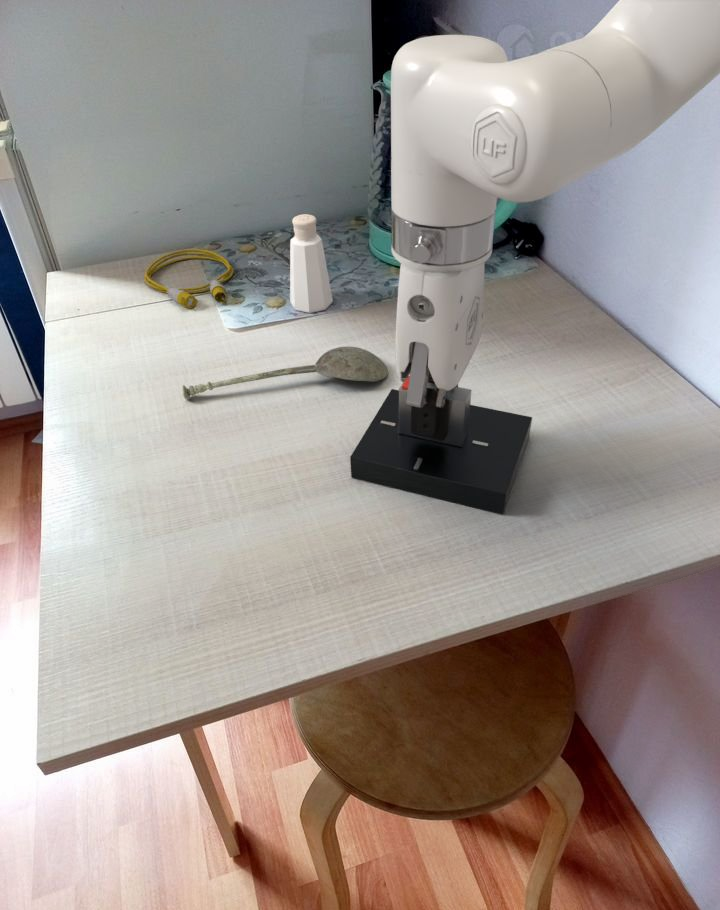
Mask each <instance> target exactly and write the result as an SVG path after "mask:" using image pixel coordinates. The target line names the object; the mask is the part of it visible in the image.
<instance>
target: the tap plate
mask: <svg viewBox="0 0 720 910" xmlns="http://www.w3.org/2000/svg"><path fill="white" fill-rule="evenodd" d="M532 423H533V417H532V416H529V415H523V414H518V413H515V412H509V411H504V410H498V409H493V408H489V407H483V406H479V405H474V404H470V415H469V426H468V435H467V437H466V439H465V442H464V444H463V446H462V447H459V446H454V445H450V444H445V443H441V442H436V441H431V440H427V439H422V438H418V437H413V436H409V435H404V434H400V433H399V389H394V388H391V390H390V391H389V393H388V394H387V396H386V398H385V399H384V401H383V403H382V404H381V406H380V407H379V409H378V411H377V412H376V414H375V415H374V417H373V419H372V421H371V422H370V424H369V425H368V427H367V429H366V430H365V432H364V434H363V435H362V436H361V439H360V441H359V442H358V444H357V445H356V447H355V448H354V450H353V451H352V453H351V455H350V457H349V459H350V478H351V479H355V480H360V481H365V482H368V483H371V484H375V485H380V486H384V487H388V488H392V489H396V490H401V491H405V492H408V493H413V494H416V495H420V496H425V497H428V498H432V499H437V500H441V501H444V502H449V503H453V504H457V505H462V506H465V507H470V508H474V509H478V510H482V511H486V512H490V513H494V514H499V515H504V513H505V511H506V507H507V505H508V502H509V499H510V495H511V492H512V490H513V486H514V483H515V481H516V478H517V475H518V473H519V469H520V466H521V464H522V461H523V457H524V455H525V451H526V448H527V445H528V442H529V440H530V436H531V435H530V434H531V428H532Z"/></svg>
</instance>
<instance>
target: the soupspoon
mask: <svg viewBox="0 0 720 910" xmlns="http://www.w3.org/2000/svg"><path fill="white" fill-rule="evenodd" d="M310 373H318V374H320V375H322V376H326V377H328V378H329V377H331V378H335V379H341V380H345V381H346V380H347V381H353V382H354V381H356V382H379V381H382V380H384V379H385V378H387V376H388V375H389V369H388V367H387V365H386V364H385V362H383V360H382V359H380V357H378V356H377V355H376V354H374V353H373V352H371V351H369V350H367V349H364V348H361V347H358V346H339V347H335V348H331V349H330V350H327V351H326V352H324V353H323V354H322V355H321V356H320V357H319V358H318V359H317V361H316V363H315V364H309V365H301V366H294V367H286V368H280V369H275V370H269V371H265V372H259V373H253V374H249V375H246V376H240V377H239V376H238V377H234V378H230V379H225V380H219V381H215V382H210V381H208V382H207V383H206V384H203V383H202V384H201V383H199V384H197V385H189V386H188V388H187V386H186V385H185V384H182V385H181V391H182V395H183V397H184V400H185V401H187V402H189V401H190V397H191V396H192V397H195V396H196V395H198V394H200V393H201V394H202V393H204V392H206V391H207V390H209V391H212V390H213V389H215V388H216V389H217V388H221V387H227V386H232V385H238V384H243V383H249V382H255V381H261V380H265V379H270V378H276V377H277V378H278V377H283V376H289V375H299V374H310Z"/></svg>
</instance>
